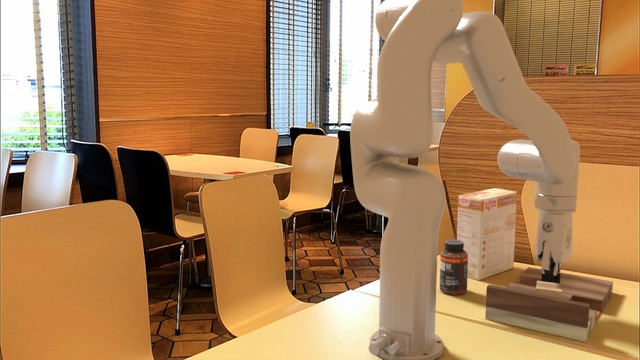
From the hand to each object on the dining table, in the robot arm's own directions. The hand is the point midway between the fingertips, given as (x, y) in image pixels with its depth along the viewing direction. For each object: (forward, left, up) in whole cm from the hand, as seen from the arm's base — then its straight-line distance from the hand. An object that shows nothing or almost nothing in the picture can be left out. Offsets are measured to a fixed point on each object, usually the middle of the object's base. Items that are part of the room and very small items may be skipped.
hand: (550, 292), depth 114 cm
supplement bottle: (0, +20, -4) cm, 21 cm away
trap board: (+4, 0, -4) cm, 5 cm away
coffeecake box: (+18, +19, -4) cm, 26 cm away
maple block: (-6, -1, -1) cm, 6 cm away
